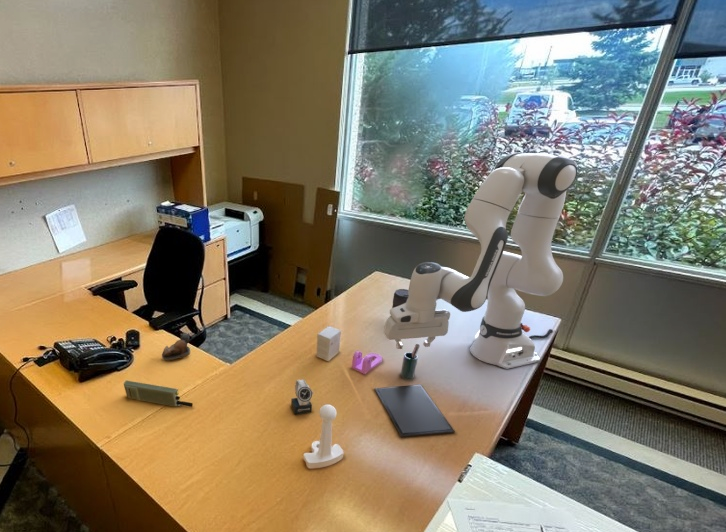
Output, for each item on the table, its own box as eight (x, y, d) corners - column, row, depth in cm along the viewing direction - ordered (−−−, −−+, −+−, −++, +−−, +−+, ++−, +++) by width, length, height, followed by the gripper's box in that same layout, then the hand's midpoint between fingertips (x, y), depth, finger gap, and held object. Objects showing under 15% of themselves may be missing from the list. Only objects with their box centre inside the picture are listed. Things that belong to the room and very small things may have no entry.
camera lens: (412, 328, 175) (418, 296, 168) (393, 328, 175) (398, 297, 168) (405, 318, 182) (411, 287, 175) (386, 319, 182) (391, 288, 175)
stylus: (407, 374, 148) (419, 347, 137) (403, 373, 148) (415, 346, 138) (408, 372, 149) (420, 344, 138) (404, 370, 149) (415, 343, 139)
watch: (296, 418, 133) (297, 392, 127) (289, 402, 140) (290, 376, 134) (313, 416, 133) (315, 389, 128) (305, 399, 140) (306, 374, 135)
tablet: (420, 386, 143) (420, 384, 142) (454, 433, 123) (454, 430, 123) (374, 390, 142) (374, 388, 142) (401, 437, 123) (401, 435, 123)
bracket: (364, 375, 150) (366, 359, 146) (351, 368, 154) (353, 353, 150) (384, 360, 157) (387, 345, 153) (371, 354, 161) (373, 339, 157)
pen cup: (410, 372, 150) (414, 351, 145) (415, 379, 146) (420, 358, 141) (398, 373, 150) (402, 352, 145) (403, 380, 146) (407, 359, 141)
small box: (327, 347, 166) (328, 325, 161) (339, 352, 163) (341, 330, 158) (315, 356, 162) (317, 333, 156) (328, 361, 158) (329, 338, 153)
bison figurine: (163, 364, 163) (160, 343, 158) (161, 355, 169) (157, 334, 164) (193, 358, 166) (190, 337, 161) (189, 349, 172) (187, 328, 167)
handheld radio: (130, 393, 149) (194, 404, 142) (126, 399, 147) (191, 411, 139) (126, 378, 146) (192, 389, 138) (122, 384, 143) (188, 396, 136)
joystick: (310, 471, 115) (313, 417, 105) (297, 451, 121) (299, 399, 111) (345, 460, 117) (351, 406, 107) (331, 441, 124) (336, 389, 114)
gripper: (446, 304, 138) (438, 339, 144) (385, 309, 137) (380, 344, 144) (456, 313, 132) (447, 349, 139) (392, 318, 132) (387, 354, 139)
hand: (412, 347), depth 142 cm, fingers open, 8 cm apart
